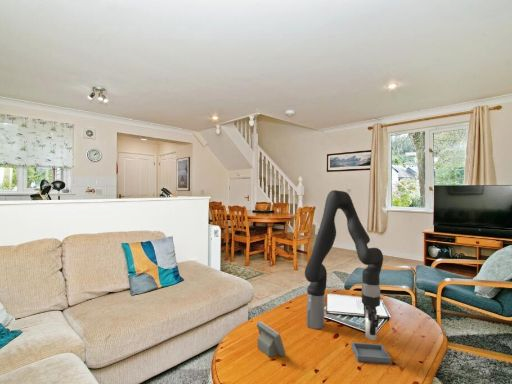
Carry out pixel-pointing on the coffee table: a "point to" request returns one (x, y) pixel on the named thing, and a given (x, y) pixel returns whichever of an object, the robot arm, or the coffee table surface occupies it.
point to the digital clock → (269, 340)
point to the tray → (370, 353)
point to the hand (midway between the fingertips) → (370, 331)
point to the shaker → (367, 329)
